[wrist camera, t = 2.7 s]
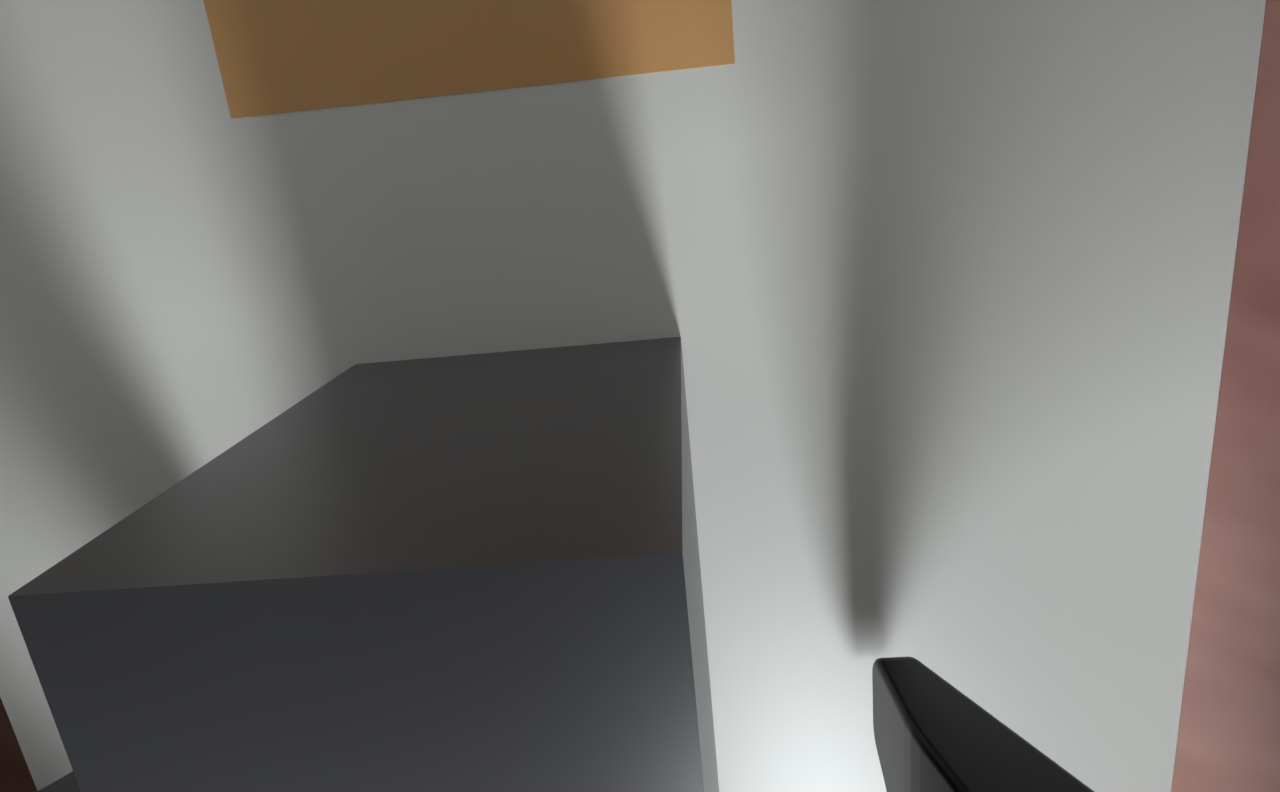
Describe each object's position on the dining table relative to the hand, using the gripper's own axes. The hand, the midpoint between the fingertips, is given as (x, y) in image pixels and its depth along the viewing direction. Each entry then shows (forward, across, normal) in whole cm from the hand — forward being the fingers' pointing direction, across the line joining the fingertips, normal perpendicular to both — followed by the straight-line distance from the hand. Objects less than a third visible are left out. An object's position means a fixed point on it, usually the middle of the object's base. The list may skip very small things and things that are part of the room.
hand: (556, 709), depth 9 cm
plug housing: (+1, 0, 0) cm, 1 cm away
